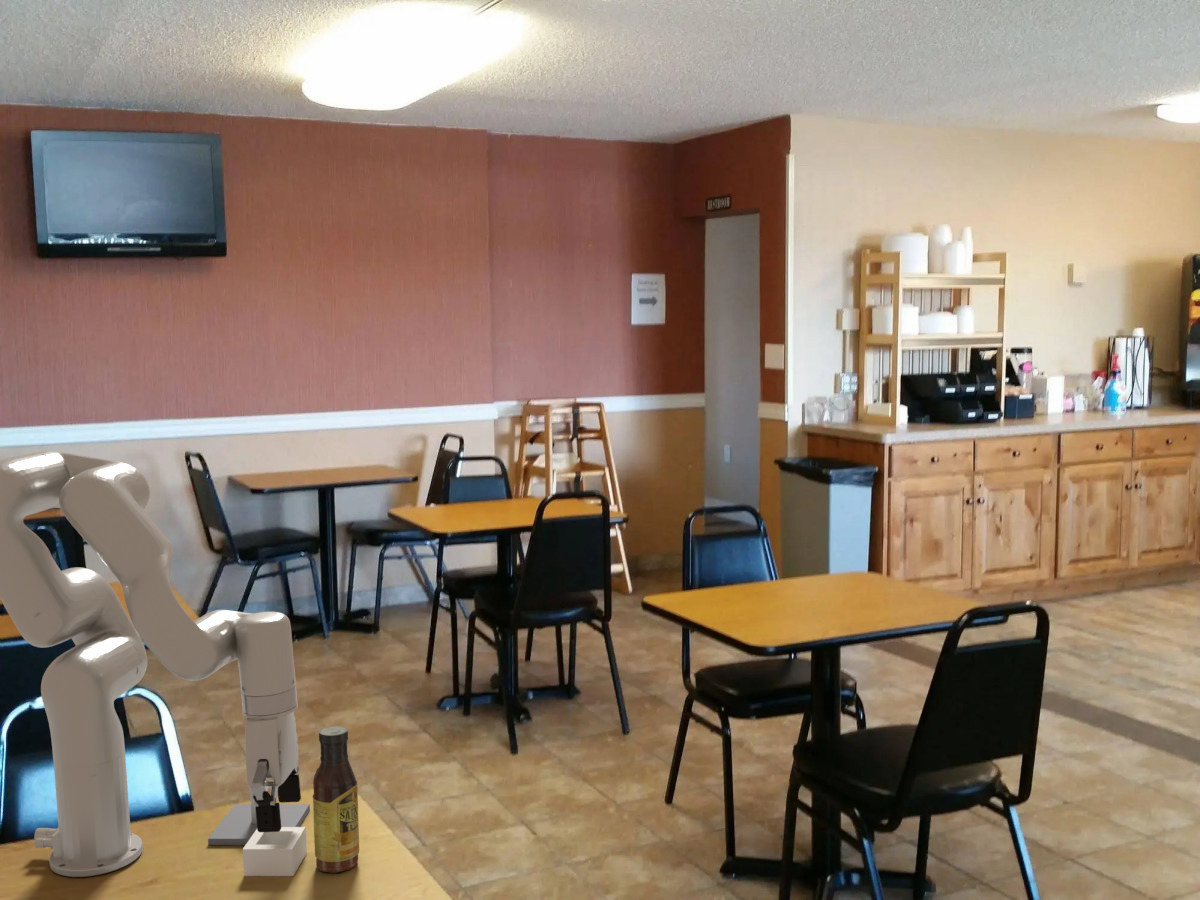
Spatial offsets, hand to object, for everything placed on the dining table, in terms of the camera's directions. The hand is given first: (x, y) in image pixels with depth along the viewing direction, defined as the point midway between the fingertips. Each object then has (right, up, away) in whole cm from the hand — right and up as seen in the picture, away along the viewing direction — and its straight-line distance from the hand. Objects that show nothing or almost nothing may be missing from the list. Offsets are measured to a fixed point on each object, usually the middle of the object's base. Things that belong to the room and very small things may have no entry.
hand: (280, 815), depth 169 cm
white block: (-1, -7, +1) cm, 7 cm away
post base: (-7, -6, +13) cm, 16 cm away
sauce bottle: (+8, -7, +1) cm, 11 cm away
